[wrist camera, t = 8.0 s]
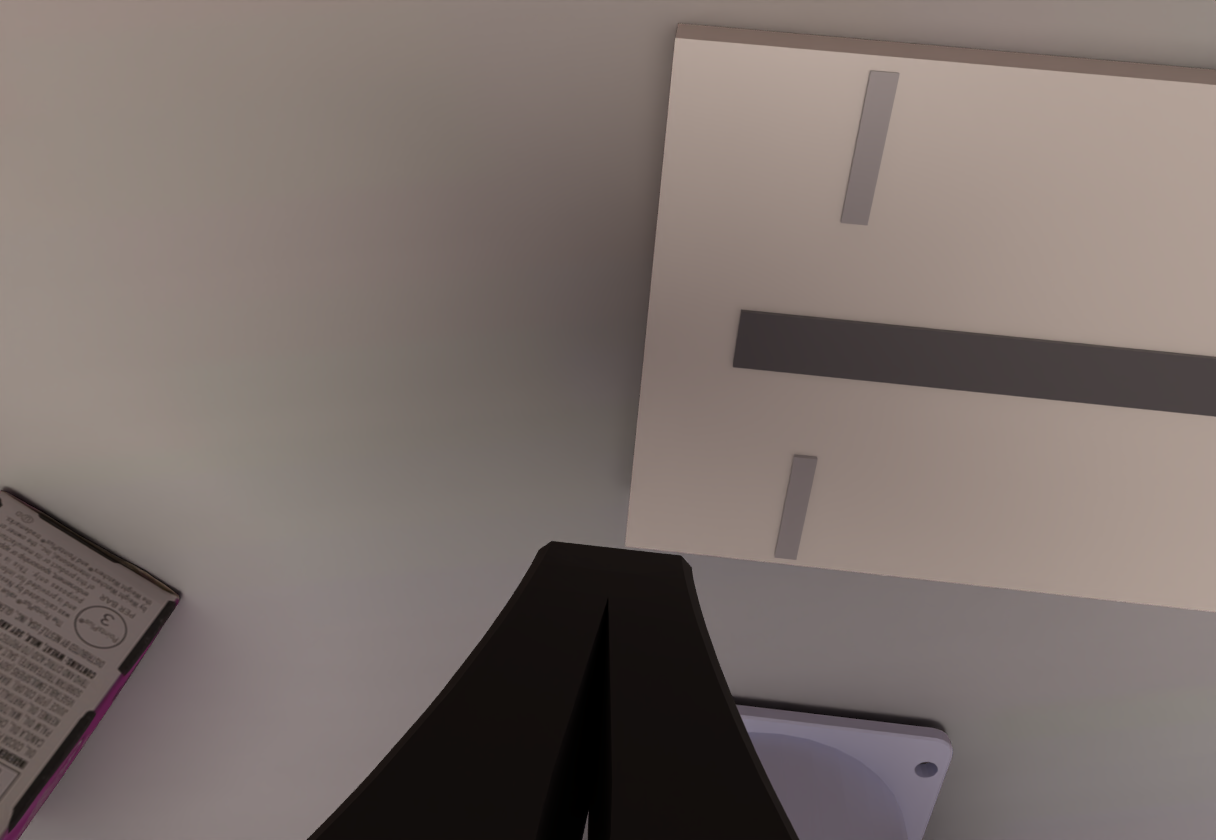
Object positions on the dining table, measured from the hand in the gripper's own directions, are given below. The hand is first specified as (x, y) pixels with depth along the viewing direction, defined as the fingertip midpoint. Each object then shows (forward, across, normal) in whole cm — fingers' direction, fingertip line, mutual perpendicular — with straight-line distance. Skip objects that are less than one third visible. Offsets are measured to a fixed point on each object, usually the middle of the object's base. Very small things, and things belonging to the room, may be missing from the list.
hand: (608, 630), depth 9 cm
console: (+9, -9, 0) cm, 13 cm away
